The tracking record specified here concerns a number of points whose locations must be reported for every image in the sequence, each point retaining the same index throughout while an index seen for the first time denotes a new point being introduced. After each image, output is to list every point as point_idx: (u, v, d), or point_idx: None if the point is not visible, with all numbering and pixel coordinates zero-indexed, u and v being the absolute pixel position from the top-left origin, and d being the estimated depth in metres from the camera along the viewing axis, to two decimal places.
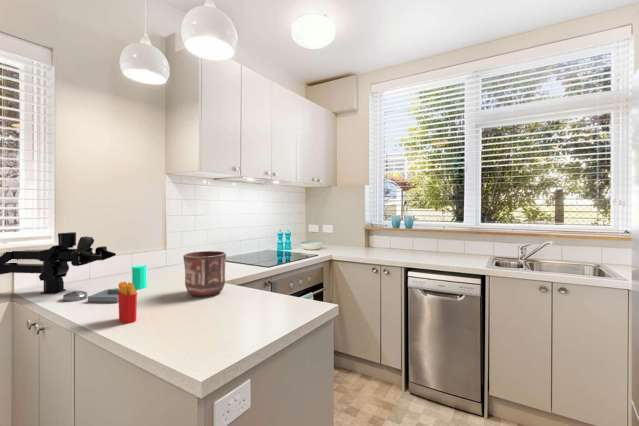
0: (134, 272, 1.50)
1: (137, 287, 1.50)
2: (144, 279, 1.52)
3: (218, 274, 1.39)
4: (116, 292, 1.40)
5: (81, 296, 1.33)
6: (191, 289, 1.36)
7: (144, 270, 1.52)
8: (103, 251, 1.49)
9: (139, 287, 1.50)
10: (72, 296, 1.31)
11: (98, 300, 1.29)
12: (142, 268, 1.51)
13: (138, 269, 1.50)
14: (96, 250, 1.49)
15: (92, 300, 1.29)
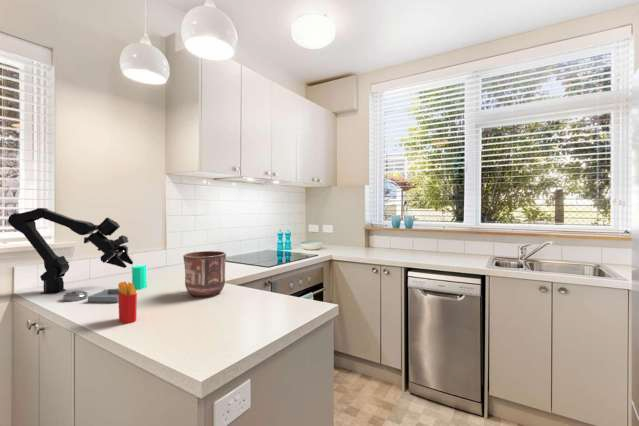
0: (134, 272, 1.50)
1: (137, 287, 1.50)
2: (144, 279, 1.52)
3: (218, 274, 1.39)
4: (116, 292, 1.40)
5: (81, 296, 1.33)
6: (191, 289, 1.36)
7: (144, 270, 1.52)
8: (124, 253, 1.56)
9: (139, 287, 1.50)
10: (72, 296, 1.31)
11: (98, 300, 1.29)
12: (142, 268, 1.51)
13: (138, 269, 1.50)
14: (119, 247, 1.55)
15: (92, 300, 1.29)
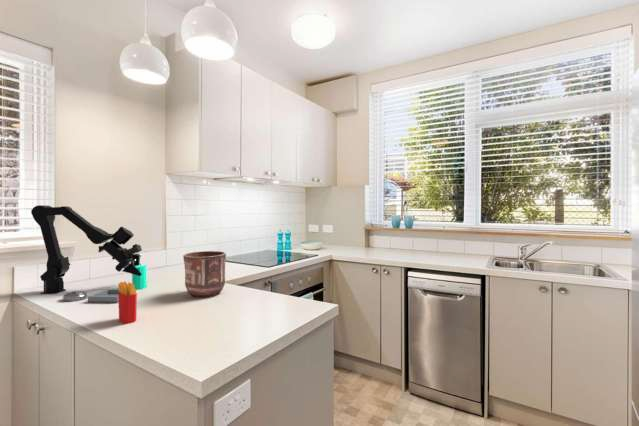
0: None
1: (137, 287, 1.50)
2: (144, 279, 1.52)
3: (218, 274, 1.39)
4: (116, 292, 1.40)
5: (81, 296, 1.33)
6: (191, 289, 1.36)
7: (144, 270, 1.52)
8: (137, 262, 1.56)
9: (139, 287, 1.50)
10: (72, 296, 1.31)
11: (98, 300, 1.29)
12: (142, 268, 1.51)
13: (138, 269, 1.50)
14: (133, 256, 1.57)
15: (92, 300, 1.29)
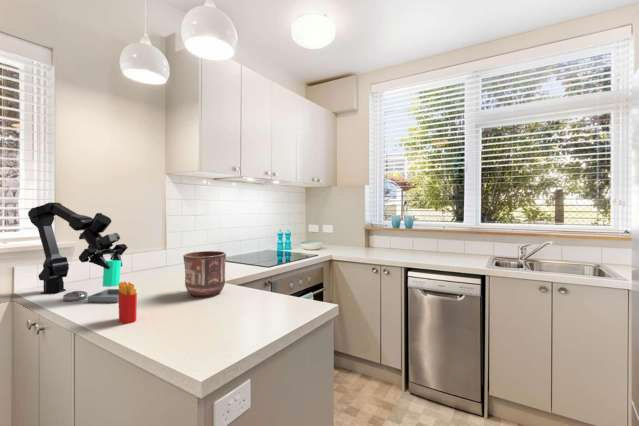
0: None
1: (104, 284, 1.31)
2: (113, 276, 1.32)
3: (218, 274, 1.39)
4: (116, 292, 1.40)
5: (81, 296, 1.33)
6: (191, 289, 1.36)
7: (114, 265, 1.33)
8: (116, 253, 1.39)
9: (106, 284, 1.31)
10: (72, 296, 1.31)
11: (98, 300, 1.29)
12: (111, 262, 1.32)
13: None
14: (116, 246, 1.41)
15: (92, 300, 1.29)
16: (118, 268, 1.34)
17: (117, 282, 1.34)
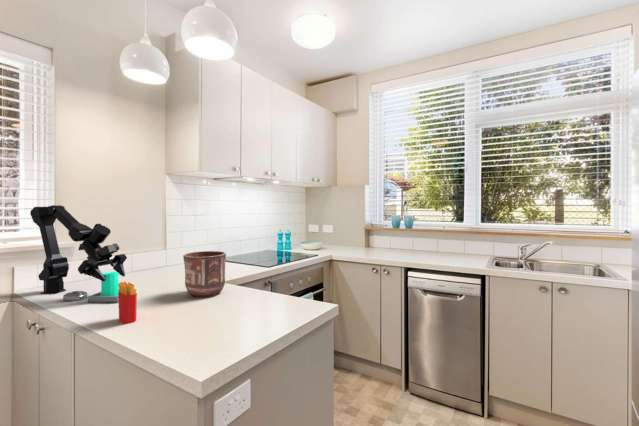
0: None
1: None
2: (111, 289, 1.32)
3: (218, 274, 1.39)
4: None
5: (81, 296, 1.33)
6: (191, 289, 1.36)
7: (111, 278, 1.32)
8: (119, 263, 1.40)
9: None
10: (72, 296, 1.31)
11: (98, 300, 1.29)
12: (108, 276, 1.31)
13: None
14: (115, 256, 1.41)
15: (92, 300, 1.29)
16: (116, 281, 1.33)
17: (116, 294, 1.33)
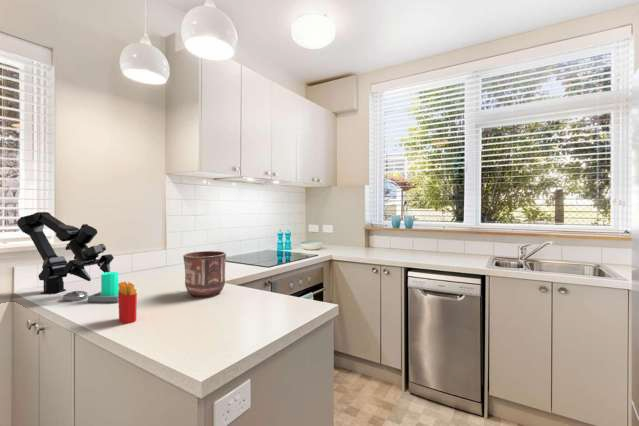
0: (101, 280, 1.32)
1: None
2: (111, 289, 1.32)
3: (218, 274, 1.39)
4: None
5: (81, 296, 1.33)
6: (191, 289, 1.36)
7: (111, 278, 1.32)
8: (105, 263, 1.42)
9: None
10: (72, 296, 1.31)
11: (98, 300, 1.29)
12: (108, 276, 1.31)
13: (104, 277, 1.31)
14: (102, 257, 1.43)
15: (92, 300, 1.29)
16: (116, 281, 1.33)
17: (116, 294, 1.33)
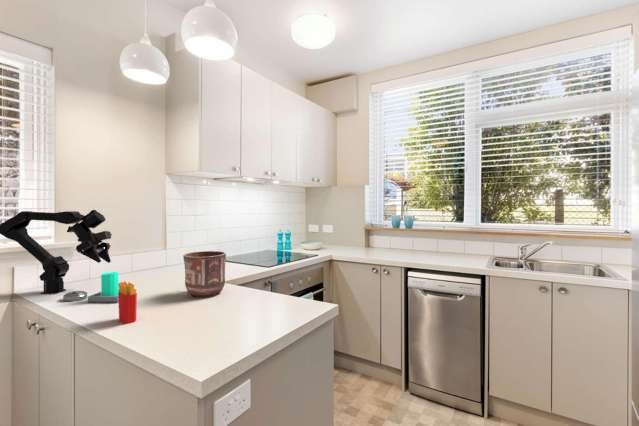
0: (101, 280, 1.32)
1: None
2: (111, 289, 1.32)
3: (218, 274, 1.39)
4: None
5: (81, 296, 1.33)
6: (191, 289, 1.36)
7: (111, 278, 1.32)
8: (105, 250, 1.50)
9: None
10: (72, 296, 1.31)
11: (98, 300, 1.29)
12: (108, 276, 1.31)
13: (104, 277, 1.31)
14: (101, 243, 1.51)
15: (92, 300, 1.29)
16: (116, 281, 1.33)
17: (116, 294, 1.33)
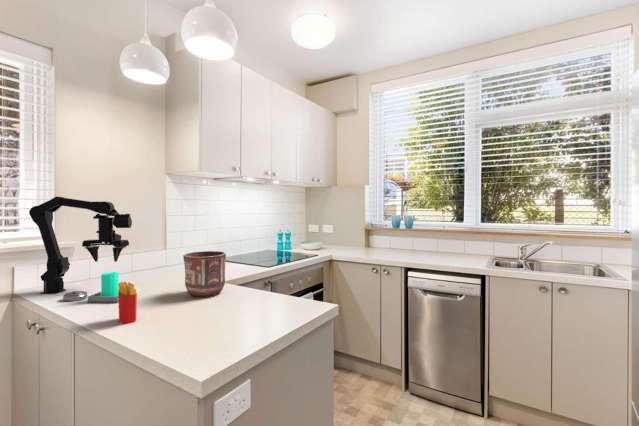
0: (101, 280, 1.32)
1: None
2: (111, 289, 1.32)
3: (218, 274, 1.39)
4: None
5: (81, 296, 1.33)
6: (191, 289, 1.36)
7: (111, 278, 1.32)
8: (97, 248, 1.51)
9: None
10: (72, 296, 1.31)
11: (98, 300, 1.29)
12: (108, 276, 1.31)
13: (104, 277, 1.31)
14: (96, 240, 1.51)
15: (92, 300, 1.29)
16: (116, 281, 1.33)
17: (116, 294, 1.33)
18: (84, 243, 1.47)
